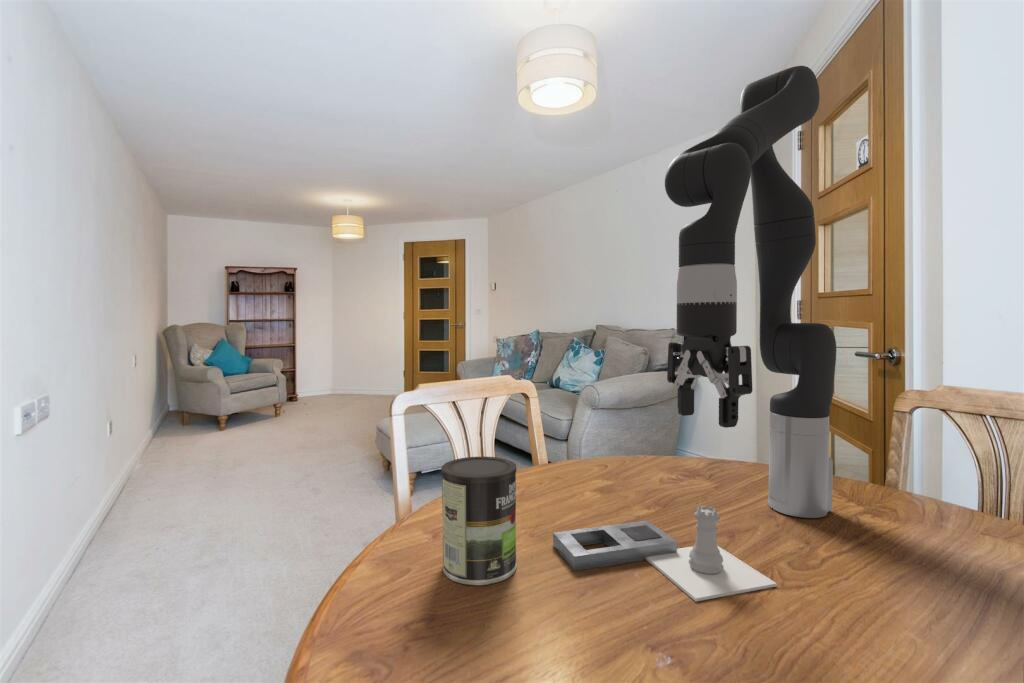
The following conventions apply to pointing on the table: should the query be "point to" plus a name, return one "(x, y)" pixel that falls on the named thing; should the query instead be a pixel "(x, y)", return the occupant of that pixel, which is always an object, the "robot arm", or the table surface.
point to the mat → (706, 586)
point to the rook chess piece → (706, 543)
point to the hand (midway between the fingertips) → (705, 420)
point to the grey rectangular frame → (613, 544)
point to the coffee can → (479, 520)
